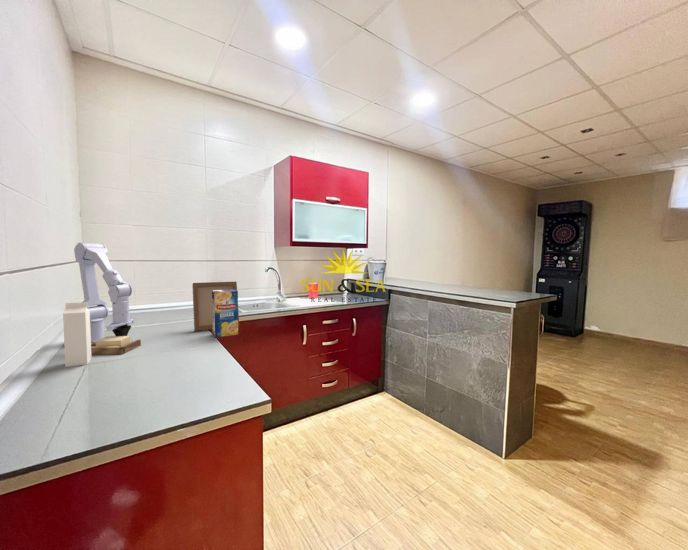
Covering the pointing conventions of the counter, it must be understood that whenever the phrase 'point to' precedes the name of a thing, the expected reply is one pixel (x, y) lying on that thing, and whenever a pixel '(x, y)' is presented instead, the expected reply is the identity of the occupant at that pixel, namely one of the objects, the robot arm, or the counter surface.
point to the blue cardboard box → (224, 313)
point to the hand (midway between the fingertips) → (121, 343)
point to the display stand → (114, 348)
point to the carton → (113, 341)
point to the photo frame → (207, 302)
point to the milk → (77, 334)
